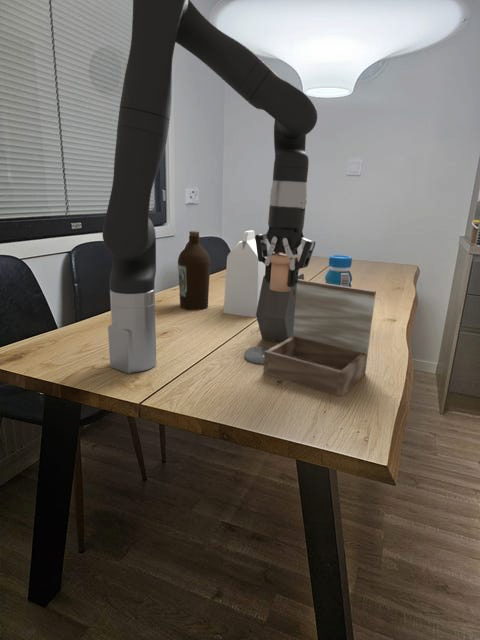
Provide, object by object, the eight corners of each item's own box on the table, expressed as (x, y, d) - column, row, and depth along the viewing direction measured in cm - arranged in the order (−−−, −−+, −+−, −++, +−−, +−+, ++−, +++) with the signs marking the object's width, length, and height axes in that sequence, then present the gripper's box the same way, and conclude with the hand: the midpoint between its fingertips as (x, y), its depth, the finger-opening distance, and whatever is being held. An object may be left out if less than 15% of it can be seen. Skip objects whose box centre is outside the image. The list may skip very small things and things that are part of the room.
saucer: (269, 367, 95) (269, 364, 95) (236, 357, 100) (236, 354, 100) (288, 355, 102) (288, 352, 102) (256, 347, 107) (257, 344, 107)
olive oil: (203, 301, 149) (204, 230, 142) (214, 309, 140) (215, 233, 133) (174, 304, 145) (173, 230, 138) (183, 312, 136) (183, 233, 129)
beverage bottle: (318, 321, 132) (324, 257, 126) (323, 314, 139) (328, 253, 134) (346, 324, 129) (353, 259, 123) (349, 317, 137) (356, 255, 131)
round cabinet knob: (285, 293, 90) (288, 258, 87) (262, 288, 93) (264, 254, 91) (297, 289, 94) (301, 256, 92) (275, 285, 97) (278, 252, 95)
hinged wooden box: (341, 396, 83) (352, 304, 77) (263, 373, 92) (267, 289, 87) (365, 373, 94) (376, 291, 89) (293, 354, 104) (299, 279, 98)
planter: (283, 307, 127) (273, 254, 112) (308, 311, 124) (301, 257, 109) (264, 351, 118) (251, 299, 103) (291, 356, 115) (281, 304, 100)
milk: (257, 317, 133) (261, 233, 126) (223, 312, 137) (225, 231, 129) (267, 308, 144) (272, 231, 137) (236, 304, 148) (239, 228, 140)
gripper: (249, 202, 89) (244, 281, 94) (310, 206, 81) (301, 293, 86) (267, 202, 95) (262, 277, 100) (326, 207, 87) (317, 287, 92)
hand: (280, 284), depth 93 cm, fingers closed on round cabinet knob, 4 cm apart
